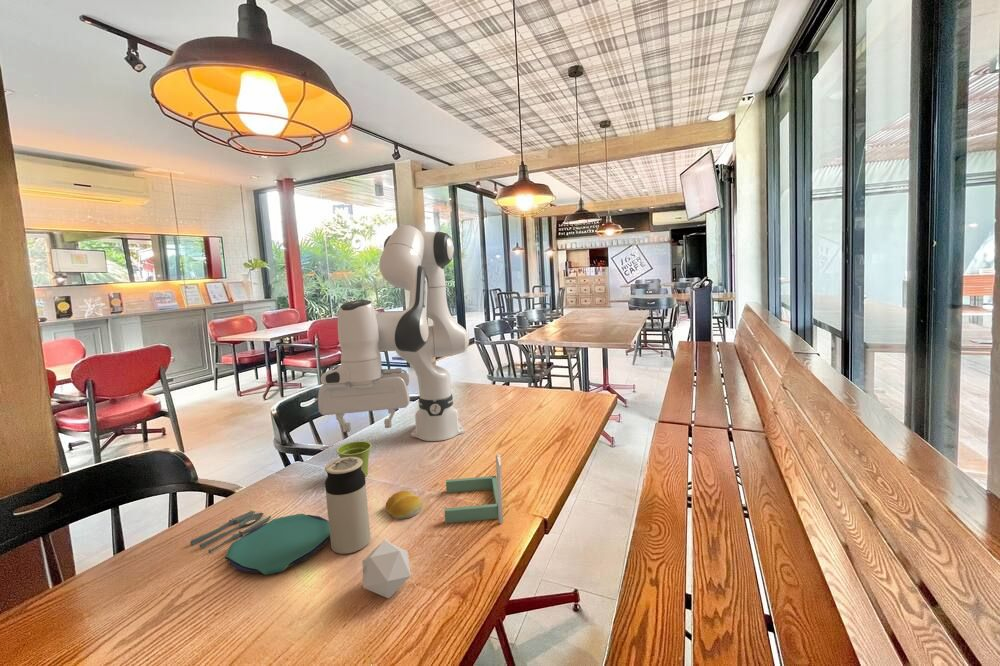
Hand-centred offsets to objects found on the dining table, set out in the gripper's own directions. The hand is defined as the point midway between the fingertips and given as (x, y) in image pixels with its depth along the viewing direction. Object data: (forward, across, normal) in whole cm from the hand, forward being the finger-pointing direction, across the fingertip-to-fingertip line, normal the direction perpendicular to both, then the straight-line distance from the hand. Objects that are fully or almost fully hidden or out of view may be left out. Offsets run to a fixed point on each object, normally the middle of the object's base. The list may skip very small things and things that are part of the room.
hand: (367, 429), depth 102 cm
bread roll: (+22, -6, -1) cm, 23 cm away
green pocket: (+22, -23, +3) cm, 32 cm away
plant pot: (+21, +8, -23) cm, 32 cm away
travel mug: (+22, +4, +10) cm, 24 cm away
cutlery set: (+22, +22, +6) cm, 32 cm away
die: (+22, -6, +26) cm, 35 cm away
